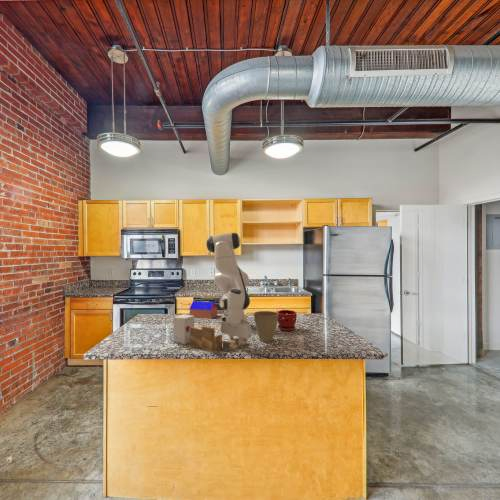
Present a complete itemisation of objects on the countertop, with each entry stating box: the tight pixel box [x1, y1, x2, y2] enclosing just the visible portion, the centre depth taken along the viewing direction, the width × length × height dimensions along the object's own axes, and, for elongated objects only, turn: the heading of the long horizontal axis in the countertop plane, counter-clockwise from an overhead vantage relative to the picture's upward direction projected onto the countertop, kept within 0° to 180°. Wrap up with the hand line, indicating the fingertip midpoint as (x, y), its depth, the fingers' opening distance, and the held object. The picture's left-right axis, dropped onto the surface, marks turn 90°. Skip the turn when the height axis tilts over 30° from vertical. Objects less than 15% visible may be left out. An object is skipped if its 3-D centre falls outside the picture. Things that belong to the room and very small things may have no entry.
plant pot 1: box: [253, 310, 279, 343], centre depth 175 cm, size 15×15×16 cm
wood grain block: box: [189, 325, 223, 352], centre depth 164 cm, size 8×17×12 cm, turn 53°
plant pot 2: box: [277, 309, 298, 332], centre depth 199 cm, size 13×13×12 cm
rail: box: [222, 337, 248, 352], centre depth 163 cm, size 17×3×5 cm, turn 143°
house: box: [189, 301, 218, 319], centre depth 242 cm, size 12×20×12 cm, turn 69°
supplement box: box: [172, 313, 195, 345], centre depth 173 cm, size 9×9×15 cm
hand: (235, 343), depth 163 cm, fingers closed on rail, 3 cm apart
